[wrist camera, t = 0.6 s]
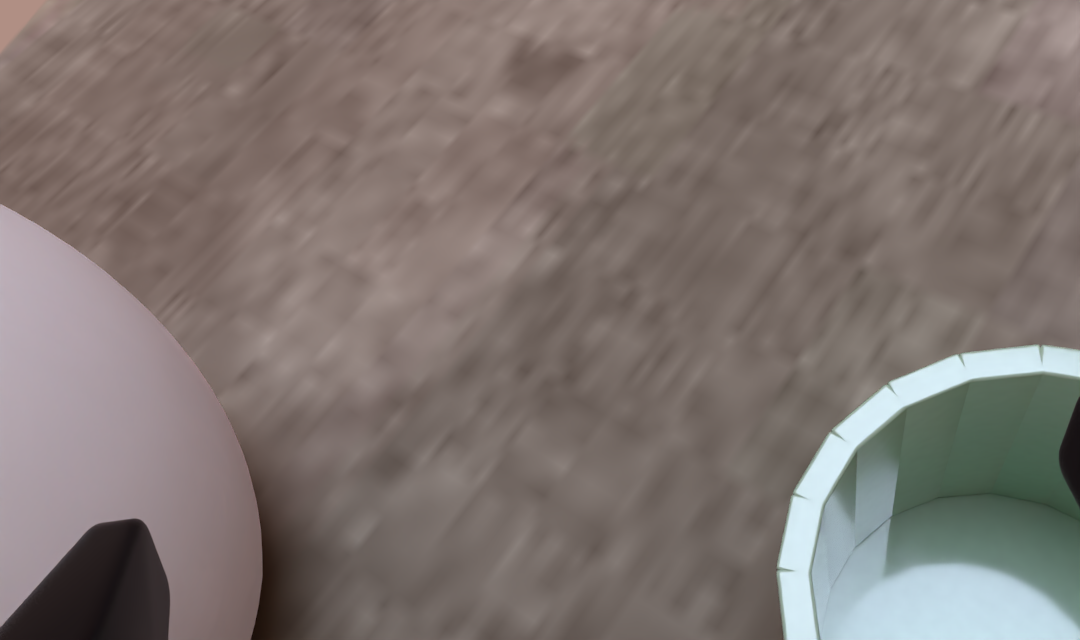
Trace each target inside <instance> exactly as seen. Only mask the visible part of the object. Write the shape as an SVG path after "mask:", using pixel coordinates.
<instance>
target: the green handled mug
mask: <svg viewBox="0 0 1080 640" xmlns="http://www.w3.org/2000/svg"><path fill="white" fill-rule="evenodd" d="M1079 397H1080V350H1077V349H1070V348H1063V347H1056V346H1049V345H1041V347H1040V346H1039V345H1028V346H1019V347H1010V348H1002V349H993V350H984V351H975V352H966V353H961V354H959V355H958V354H954V355H952V356H950V357H947V358H945V359H942V360H940V361H937V362H935V363H933V364H930V365H928V366H925V367H923V368H921V369H918V370H916V371H913V372H911V373H908V374H906V375H904V376H901V377H899V378H896V379H894V380H892V381H889V382H888V383H887V385H884V386H882V387H881V388H880V389H879V390H878V391H876V392H875V393H874V394H873V395H872V396H870V397H869V398H868V399H867V400H866V401H864V402H863V403H862V404H861V405H860V406H859V407H857V408H856V409H855V410H854V411H853V412H851V413H850V414H849V415H848V416H847V417H845V418H844V419H843V420H842V421H841V422H840V423H838V424H837V425H836V426H835V427H834V428H832V430H831V432H829V433H828V434H827V436H826V437H825V439H824V441H823V442H822V444H821V446H820V447H819V449H818V451H817V452H816V454H815V456H814V457H813V459H812V461H811V462H810V464H809V466H808V467H807V469H806V471H805V472H804V474H803V476H802V477H801V479H800V481H799V482H798V484H797V486H796V487H795V489H794V491H793V495H792V496H791V498H790V503H789V508H788V512H787V517H786V522H785V527H784V531H783V536H782V541H781V546H780V550H779V555H778V560H777V565H776V568H777V572H776V578H777V587H778V595H779V604H780V613H781V621H782V630H783V639H784V640H1080V509H1079V507H1078V505H1077V503H1076V501H1075V499H1074V497H1073V495H1072V493H1071V491H1070V489H1069V487H1068V485H1067V484H1066V482H1065V480H1064V478H1063V475H1062V473H1061V470H1060V466H1059V449H1060V446H1061V443H1062V440H1063V437H1064V435H1065V432H1066V429H1067V427H1068V424H1069V421H1070V418H1071V416H1072V413H1073V410H1074V407H1075V405H1076V402H1077V400H1078V398H1079Z"/></svg>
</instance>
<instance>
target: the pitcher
mask: <svg viewBox="0 0 1080 640" xmlns="http://www.w3.org/2000/svg"><path fill="white" fill-rule="evenodd" d="M132 518H136V519H140V520H142V521H143V522H144V523H145V524H146V525H147V527H148V529H149V531H150V534H151V537H152V539H153V542H154V544H155V547H156V550H157V552H158V555H159V558H160V560H161V563H162V566H163V568H164V571H165V573H166V576H167V579H168V584H169V590H170V617H169V633H168V640H251V637H252V633H253V629H254V625H255V621H256V616H257V611H258V607H259V600H260V592H261V585H262V577H263V572H262V538H261V527H260V520H259V513H258V506H257V500H256V497H255V493H254V489H253V485H252V481H251V477H250V473H249V469H248V466H247V463H246V460H245V457H244V454H243V452H242V449H241V447H240V444H239V442H238V439H237V437H236V434H235V432H234V430H233V428H232V426H231V423H230V421H229V419H228V417H227V415H226V413H225V411H224V409H223V408H222V406H221V404H220V402H219V401H218V399H217V397H216V395H215V394H214V392H213V390H212V388H211V387H210V385H209V383H208V382H207V380H206V379H205V377H204V376H203V375H202V373H201V372H200V370H199V369H198V367H197V366H196V364H195V363H194V362H193V361H192V359H191V358H190V357H189V356H188V354H187V353H186V352H185V351H184V349H183V348H182V347H181V345H180V344H179V343H178V342H177V340H176V339H175V338H174V337H173V336H172V335H171V333H170V332H169V331H168V330H167V329H166V328H165V327H164V326H163V325H162V324H161V323H160V322H159V321H158V319H157V318H156V317H155V316H154V315H153V314H152V313H151V312H150V311H149V310H148V309H147V308H146V307H145V306H144V305H143V304H142V303H141V302H139V301H138V300H137V299H136V298H135V297H134V296H133V295H132V294H131V293H130V292H129V291H127V290H126V289H125V288H124V287H123V286H122V285H120V284H119V283H118V282H117V281H116V280H115V279H113V278H112V277H111V276H110V275H109V274H108V273H106V272H105V271H104V270H103V269H101V268H100V267H99V266H97V265H96V264H95V263H93V262H92V261H91V260H89V259H88V258H87V257H85V256H84V255H83V254H81V253H80V252H79V251H77V250H76V249H74V248H73V247H72V246H70V245H69V244H67V243H65V242H64V241H62V240H61V239H59V238H58V237H56V236H54V235H53V234H51V233H50V232H48V231H47V230H45V229H44V228H42V227H40V226H39V225H37V224H36V223H34V222H32V221H30V220H29V219H27V218H25V217H23V216H21V215H20V214H18V213H16V212H14V211H13V210H11V209H9V208H7V207H5V206H3V205H2V204H0V627H1V626H2V625H3V624H4V623H5V621H6V620H7V619H8V618H9V617H10V616H11V615H12V614H13V613H14V611H15V610H16V609H17V608H18V607H19V606H20V605H21V604H22V603H23V601H24V600H25V599H26V598H27V597H28V596H29V595H30V594H31V593H32V591H33V590H34V589H35V588H36V587H37V586H38V585H39V584H40V582H41V581H42V580H43V579H44V578H45V577H46V576H47V575H48V574H49V572H50V571H51V570H52V569H53V568H54V567H55V566H56V565H57V564H58V562H59V561H60V560H61V559H62V558H63V557H64V556H65V555H66V554H67V552H68V551H69V550H70V549H71V548H72V547H73V546H74V545H75V544H76V542H77V541H78V540H79V539H80V538H81V537H82V536H83V535H84V534H85V532H86V531H87V530H88V529H90V528H91V527H92V526H94V525H96V524H98V523H103V522H110V521H118V520H125V519H132Z"/></svg>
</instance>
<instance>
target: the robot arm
mask: <svg viewBox="0 0 1080 640" xmlns="http://www.w3.org/2000/svg"><path fill="white" fill-rule="evenodd" d="M1059 466H1060V470H1061V473H1062V475H1063V478H1064V480H1065V482H1066V484H1067V485H1068V487H1069V489H1070V491H1071V493H1072V495H1073V497H1074V499H1075V501H1076V503H1077V505H1078V507H1079V509H1080V397H1079V398H1078V400H1077V402H1076V405H1075V407H1074V410H1073V413H1072V416H1071V418H1070V421H1069V424H1068V427H1067V429H1066V432H1065V435H1064V437H1063V440H1062V443H1061V446H1060V449H1059ZM169 617H170V590H169V584H168V579H167V576H166V573H165V571H164V568H163V566H162V563H161V560H160V558H159V555H158V552H157V550H156V547H155V544H154V542H153V539H152V537H151V534H150V531H149V529H148V527H147V525H146V524H145V523H144V522H143V521H142V520H140V519H136V518H132V519H125V520H118V521H110V522H103V523H98V524H96V525H94V526H92V527H91V528H90V529H88V530H87V531H86V532H85V534H84V535H83V536H82V537H81V538H80V539H79V540H78V541H77V542H76V544H75V545H74V546H73V547H72V548H71V549H70V550H69V551H68V552H67V554H66V555H65V556H64V557H63V558H62V559H61V560H60V561H59V562H58V564H57V565H56V566H55V567H54V568H53V569H52V570H51V571H50V572H49V574H48V575H47V576H46V577H45V578H44V579H43V580H42V581H41V582H40V584H39V585H38V586H37V587H36V588H35V589H34V590H33V591H32V593H31V594H30V595H29V596H28V597H27V598H26V599H25V600H24V601H23V603H22V604H21V605H20V606H19V607H18V608H17V609H16V610H15V611H14V613H13V614H12V615H11V616H10V617H9V618H8V619H7V620H6V621H5V623H4V624H3V625H2V626H1V627H0V640H168V633H169Z"/></svg>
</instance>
